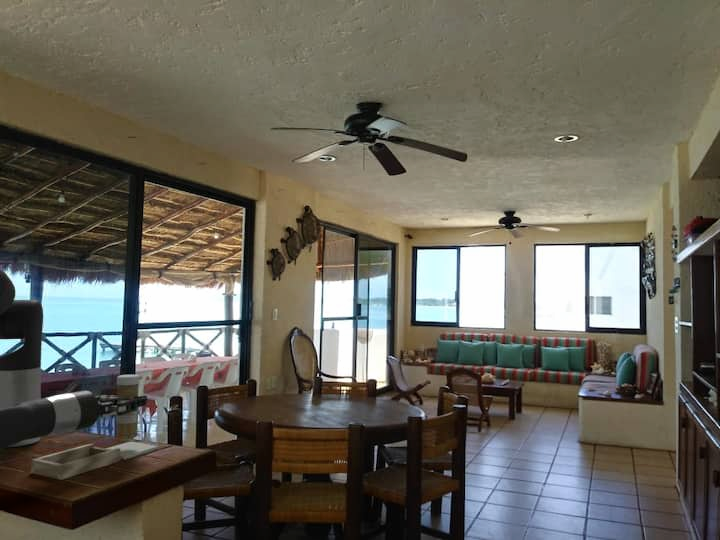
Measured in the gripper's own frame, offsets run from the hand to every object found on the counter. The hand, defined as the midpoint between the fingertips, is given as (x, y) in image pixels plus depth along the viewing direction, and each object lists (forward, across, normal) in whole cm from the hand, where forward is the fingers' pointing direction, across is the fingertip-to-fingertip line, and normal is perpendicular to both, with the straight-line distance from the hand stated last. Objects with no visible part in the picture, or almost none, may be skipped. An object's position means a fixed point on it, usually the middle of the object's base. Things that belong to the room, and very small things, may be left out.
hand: (137, 399), depth 127 cm
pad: (-2, 0, +11) cm, 11 cm away
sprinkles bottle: (-3, 0, +8) cm, 8 cm away
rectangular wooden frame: (-14, 0, +11) cm, 18 cm away
